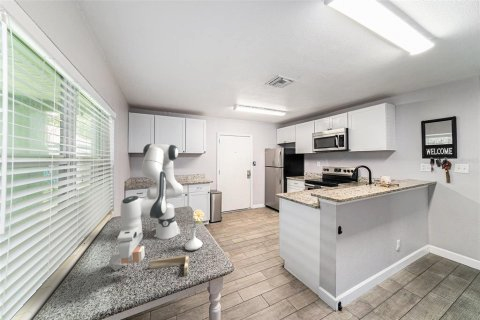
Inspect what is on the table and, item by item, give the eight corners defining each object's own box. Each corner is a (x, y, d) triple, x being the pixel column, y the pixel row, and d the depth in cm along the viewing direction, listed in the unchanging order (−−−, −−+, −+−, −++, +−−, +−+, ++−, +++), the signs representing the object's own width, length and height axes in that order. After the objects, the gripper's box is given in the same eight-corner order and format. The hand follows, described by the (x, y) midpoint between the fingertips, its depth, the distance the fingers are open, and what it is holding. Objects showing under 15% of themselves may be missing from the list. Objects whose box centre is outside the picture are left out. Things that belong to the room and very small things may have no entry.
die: (104, 273, 94) (109, 262, 90) (110, 257, 101) (115, 246, 98) (123, 274, 98) (128, 263, 94) (127, 258, 105) (132, 247, 102)
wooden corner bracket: (150, 267, 97) (150, 260, 97) (188, 261, 102) (188, 254, 101) (144, 282, 85) (143, 274, 85) (187, 275, 90) (187, 267, 90)
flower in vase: (185, 254, 110) (184, 213, 109) (183, 245, 120) (182, 208, 119) (206, 249, 115) (205, 210, 114) (203, 241, 125) (202, 206, 124)
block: (125, 257, 91) (125, 248, 91) (144, 255, 93) (144, 246, 93) (121, 264, 86) (120, 253, 86) (141, 261, 88) (141, 251, 88)
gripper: (132, 222, 98) (133, 246, 99) (115, 240, 78) (117, 270, 79) (145, 220, 100) (146, 245, 100) (131, 238, 80) (132, 268, 80)
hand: (133, 256), depth 90 cm, fingers closed on block, 5 cm apart
